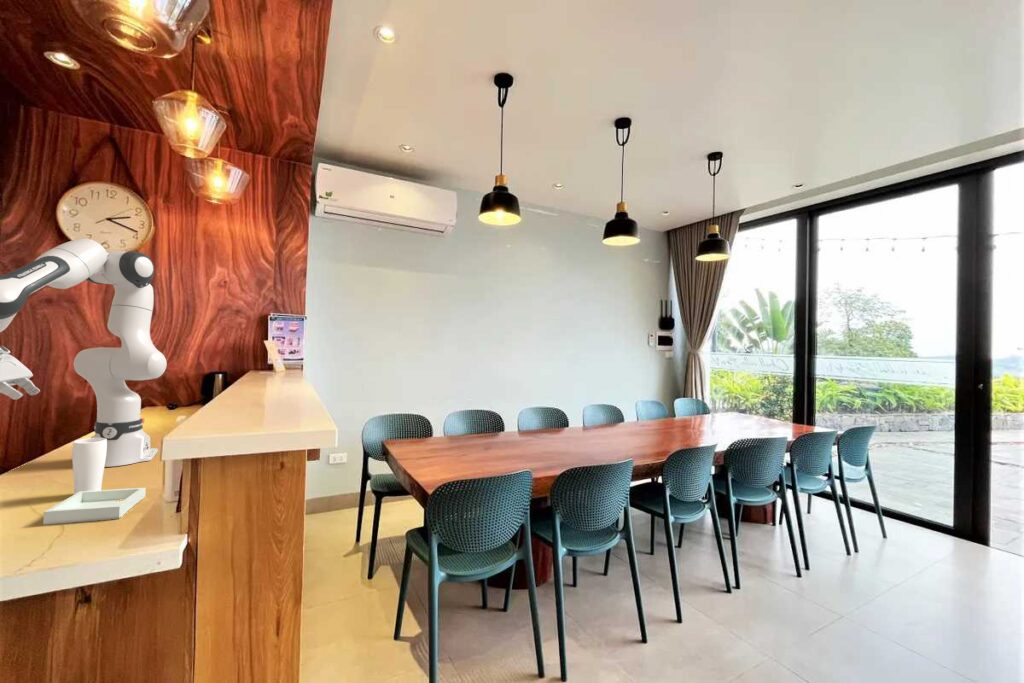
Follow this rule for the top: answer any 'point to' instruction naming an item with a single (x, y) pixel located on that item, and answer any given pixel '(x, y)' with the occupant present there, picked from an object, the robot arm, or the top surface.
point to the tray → (94, 506)
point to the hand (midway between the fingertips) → (28, 395)
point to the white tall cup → (88, 463)
